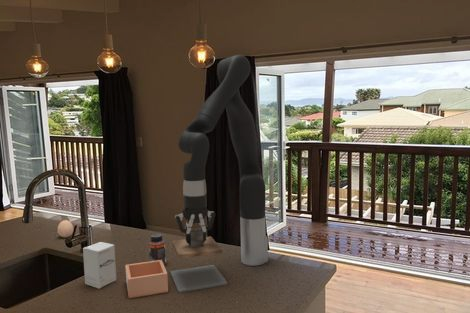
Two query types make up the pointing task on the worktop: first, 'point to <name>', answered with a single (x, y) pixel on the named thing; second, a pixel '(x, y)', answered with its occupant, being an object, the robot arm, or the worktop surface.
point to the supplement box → (99, 264)
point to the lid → (196, 245)
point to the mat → (197, 278)
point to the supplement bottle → (157, 248)
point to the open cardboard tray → (146, 278)
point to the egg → (65, 228)
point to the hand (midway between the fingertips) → (195, 242)
